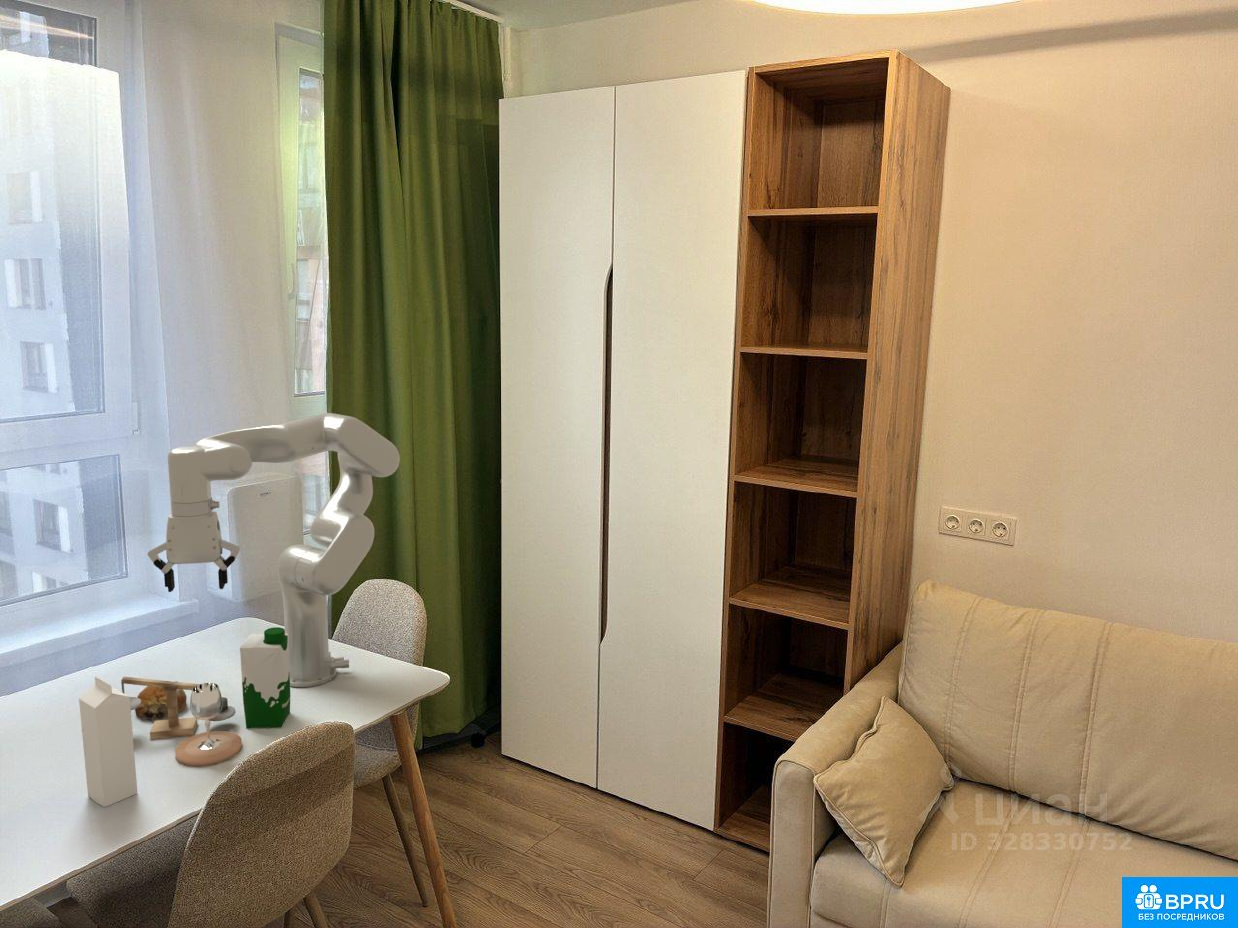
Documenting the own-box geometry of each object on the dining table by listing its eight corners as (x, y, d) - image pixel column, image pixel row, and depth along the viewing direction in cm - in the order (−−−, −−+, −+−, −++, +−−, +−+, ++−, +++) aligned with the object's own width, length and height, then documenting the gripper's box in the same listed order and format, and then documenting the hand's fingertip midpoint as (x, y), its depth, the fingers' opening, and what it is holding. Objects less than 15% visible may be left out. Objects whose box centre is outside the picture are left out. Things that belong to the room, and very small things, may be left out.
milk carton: (284, 729, 193) (280, 638, 189) (239, 730, 192) (234, 639, 188) (295, 710, 202) (291, 622, 198) (252, 711, 201) (247, 623, 197)
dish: (245, 733, 191) (244, 727, 191) (238, 762, 180) (237, 756, 180) (181, 739, 188) (181, 733, 188) (170, 769, 177) (169, 763, 177)
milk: (121, 782, 172) (112, 670, 168) (138, 793, 169) (129, 679, 164) (87, 796, 167) (76, 681, 163) (103, 808, 164) (93, 690, 160)
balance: (237, 718, 197) (234, 663, 195) (234, 732, 192) (230, 675, 189) (114, 730, 191) (109, 672, 189) (106, 744, 185) (101, 685, 183)
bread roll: (192, 722, 203) (201, 685, 204) (157, 722, 193) (167, 683, 195) (156, 714, 206) (166, 678, 208) (120, 714, 196) (130, 675, 198)
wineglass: (230, 738, 186) (227, 682, 184) (215, 753, 181) (211, 695, 178) (202, 736, 187) (199, 680, 185) (186, 750, 181) (183, 693, 179)
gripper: (239, 502, 195) (244, 580, 199) (148, 505, 191) (154, 585, 194) (235, 510, 188) (239, 591, 191) (140, 514, 183) (147, 597, 187)
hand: (197, 588), depth 193 cm, fingers open, 9 cm apart
